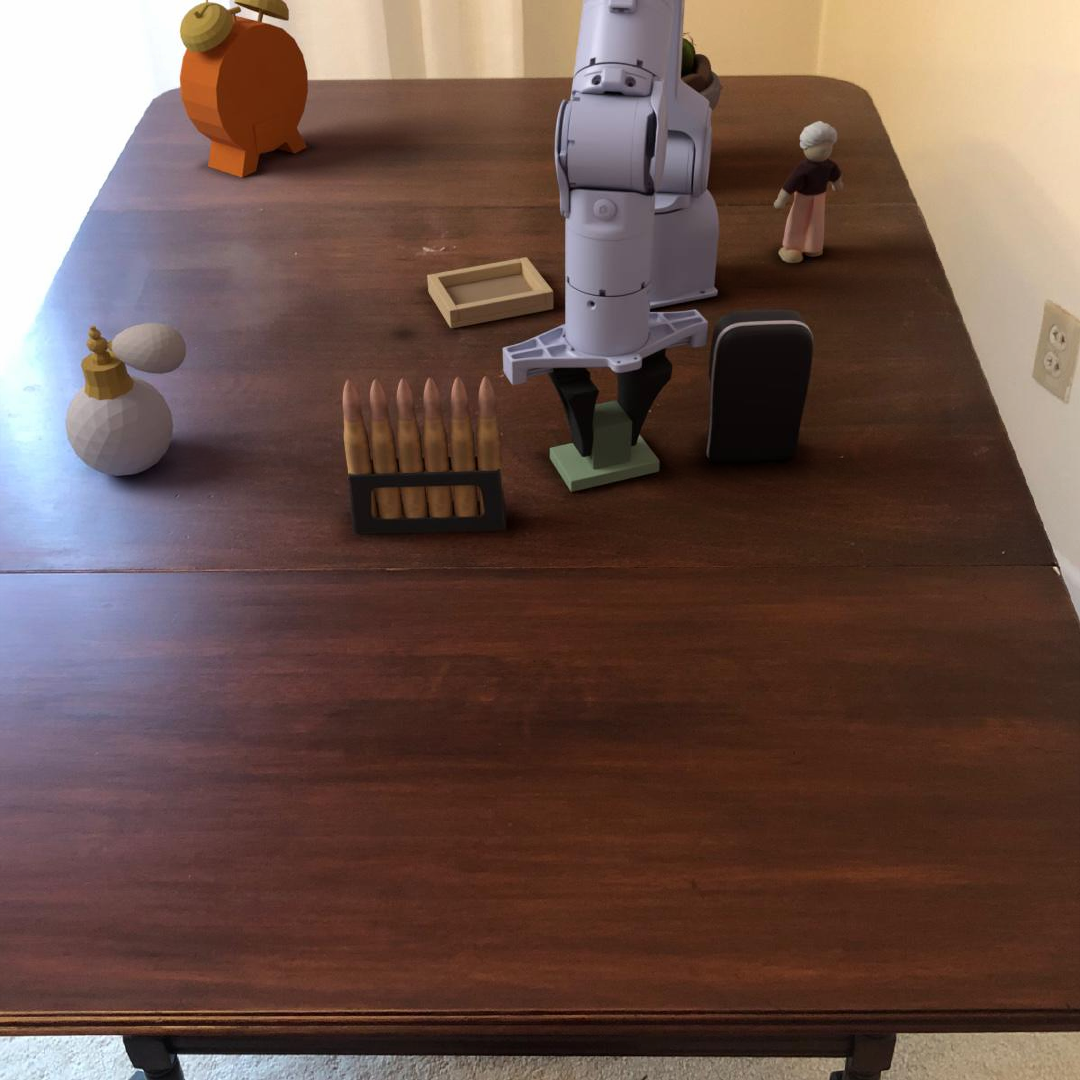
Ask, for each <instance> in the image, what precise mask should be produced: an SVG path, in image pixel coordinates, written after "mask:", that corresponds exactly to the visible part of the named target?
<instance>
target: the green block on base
mask: <svg viewBox="0 0 1080 1080" xmlns="http://www.w3.org/2000/svg"><path fill="white" fill-rule="evenodd" d="M631 440H632V421H631V419H630V418H629V417H628V415H627V414H626V413H625V411H624V410H623V409H622V407H621V406H620V405H619V403H618V402H617V399H615V400H611V401H606V402H603V403H596V404H595V409H594V415H593V444H592V451H591V456H587V457H582V456H581V455H580V453H579V452H578V450H577V449H576V447H575V446H574V444H573V442H571V443H566V444H561V445H556V446H553V447H550V448H549V459H550V461H551V462H552V464H553V465H554V467H555V469H556V470H557V472H558V473H559V475H560V477H561V478H562V480H563V481H564V483H565V484H566V486H567V487H568V489H569V491H570V492H571V493H573V492H578V491H581V490H585V489H591V488H594V487H599V486H603V485H608V484H611V483H616V482H620V481H625V480H629V479H632V478H633V479H634V478H636V477H637V478H638V477H641V476H645V475H651V474H654V473H658V472H660V463H661V461H660V460H659V458H658V456H657V455H656V454H655V453H654V451H653V450H652V449H651V448H650V446H649V444H647V442H646V441H645V440H644V438H643V437H642V435H641V433H640V434H639V437H638V440H637V444H636V445H635V446H631Z"/></svg>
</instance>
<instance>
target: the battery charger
mask: <svg viewBox="0 0 1080 1080" xmlns="http://www.w3.org/2000/svg"><path fill="white" fill-rule="evenodd" d="M713 327H714V328H713V330H712V331H713V332H712V336H711V342H710V351H709V363H708V377H709V381H710V387H709V389H710V391H709V418H708V420H709V421H708V429H707V438H706V446H705V447H706V456H707V458H708V459H709V461H711V462H712V463H741V462H742V463H744V462H745V463H747V462H748V463H749V462H750V463H751V462H765V461H780V460H790V459H795V458H796V457H797V454H798V446H799V445H798V444H799V438H800V429H801V424H802V419H803V414H804V410H805V404H806V400H807V395H808V391H809V385H810V379H811V372H812V365H813V355H814V336H813V333H812V330H811V329H810V327H809V326H808V325H807V323H806V321H805V319H804V317H803V316H802V315H801V314H800V313H799V312H798V311H795V310H792V309H751V310H737V311H730V312H727V313H725V314H723V315H722V316H720V317H719V319H718V320H717V321H716V324H715V325H714V326H713Z"/></svg>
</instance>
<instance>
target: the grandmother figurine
mask: <svg viewBox="0 0 1080 1080" xmlns="http://www.w3.org/2000/svg"><path fill="white" fill-rule="evenodd" d="M799 140H800V142H799V146H800V148H801V149H802V150H803V153H804V156H805V157H806V158H805V159H804V160H802V161H800V162H798V164H797V165H796V166H795V168H794V169H793V170H792V172H791V173H790V175H789V176H788V178H787V179H786V180H785V181H784V183H783V184H782V186H781V189H780V191H779V193H778V195H777V199H776V200H775V201H774V202H773V207H774V209H775V210H778V211H782V210H784V209H785V207H786V203H787V202H789V199H790V198H791V196H792V195H793V194H794V198H793V199H794V200H793V201H792V205H791V208H790V211H789V212H788V213H789V214H788V216H787V219H786V222H785V227H784V234H783V239H782V246H783V247H781V248H780V249H779V251H778V255H779V257H780V259H781V260H782V261H783V262H785V263H787V264H797V263H800V262H802V261H803V260H804V257H803V255H804V256H807V257H810V258H814V257H819V256H822V255H823V253H824V252H823V249H824V243H825V240H824V239H825V220H826V219H825V215H826V214H825V213H826V195H827V190H828V184H829V183H830V184H831V189H832V190H833V192H836V193H839V192H841V191H842V190H843V189H844V183H843V181H842V171H841V168H840V167H839V165H838V164H837V163H836V162H835V161H833V160H832V159H829V158H830V156H831V154H832V152H833V149H834V148H833V146H834V145H835V143H837V141H838V133H837V131H836V128H835V127H833V126H831V125H830V124H829V123H825V122H824V121H822V120H818V121H815V122H813V123H811V124H810V125H807V126H805V127H803V130H802V131H801V134H800V135H799Z"/></svg>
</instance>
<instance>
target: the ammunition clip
mask: <svg viewBox="0 0 1080 1080" xmlns="http://www.w3.org/2000/svg"><path fill="white" fill-rule="evenodd" d="M396 391H397V392H396V433H394V430H393V426H392V423H391V419H390V418H391V417H390V413H389V407H388V406H389V405H388V401H387V397H386V393H385V391H384V389H383V386H382V385H381V382H380V381H379V380H378V379H377V378H375V379H374V380H373V381H372V383H371V386H370V392H369V413H370V414H369V415H370V417H369V420H370V431H369V433H368V430H367V429H366V425H365V421H364V416H363V412H362V406H361V401H360V397H359V393H358V392H357V389H356V387H355V385H354V383H353V382H352V380H350V379H347V380H346V381H345V384H344V387H343V393H342V411H343V427H344V429H343V443H344V451H345V458H346V466H347V473H348V475H347V477H348V487H349V489H348V490H349V502H350V513H351V526H352V527H351V528H352V533H354V534H355V535H373V534H374V535H375V534H378V535H379V534H410V533H411V534H412V533H414V534H415V533H446V532H447V533H448V532H483V531H484V532H485V531H486V532H487V531H505V530H506V529H507V509H506V499H505V490H504V477H503V476H504V475H503V457H502V456H503V455H502V454H503V453H502V436H501V435H502V434H501V429H500V426H499V422H498V421H499V420H498V413H497V401H496V396H495V395H496V394H495V392H494V388H493V385H492V383H491V380H490V379H489V377H488V376H486V375H485V376H483V378H482V380H481V382H480V386H479V390H478V398H477V427H476V432H475V434H474V430H473V429H474V428H473V426H472V422H471V414H470V407H469V400H468V394H467V391H466V387H465V385H464V383H463V380H462V379H461V377H459V376H456V377H455V379H454V381H453V384H452V388H451V393H450V427H449V435H448V433H447V431H446V426H445V423H444V416H443V410H442V403H441V398H440V393H439V390H438V388H437V385H436V383H435V381H434V379H433V378H432V377H428V378H427V380H426V382H425V385H424V390H423V400H422V408H423V415H422V416H423V428H422V434H421V432H420V428H419V425H418V419H417V414H416V407H415V402H414V398H413V394H412V393H413V392H412V391H411V388H410V385H409V383H408V382H407V380H406V379H405V378H400V381H399V383H398V387H397V390H396ZM421 435H422V436H421ZM475 436H476V438H475ZM395 437H396V438H395ZM448 437H449V438H448ZM369 439H370V441H369ZM448 439H449V443H448ZM475 439H476V447H475ZM449 452H450V453H449ZM449 454H450V455H449Z"/></svg>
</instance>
